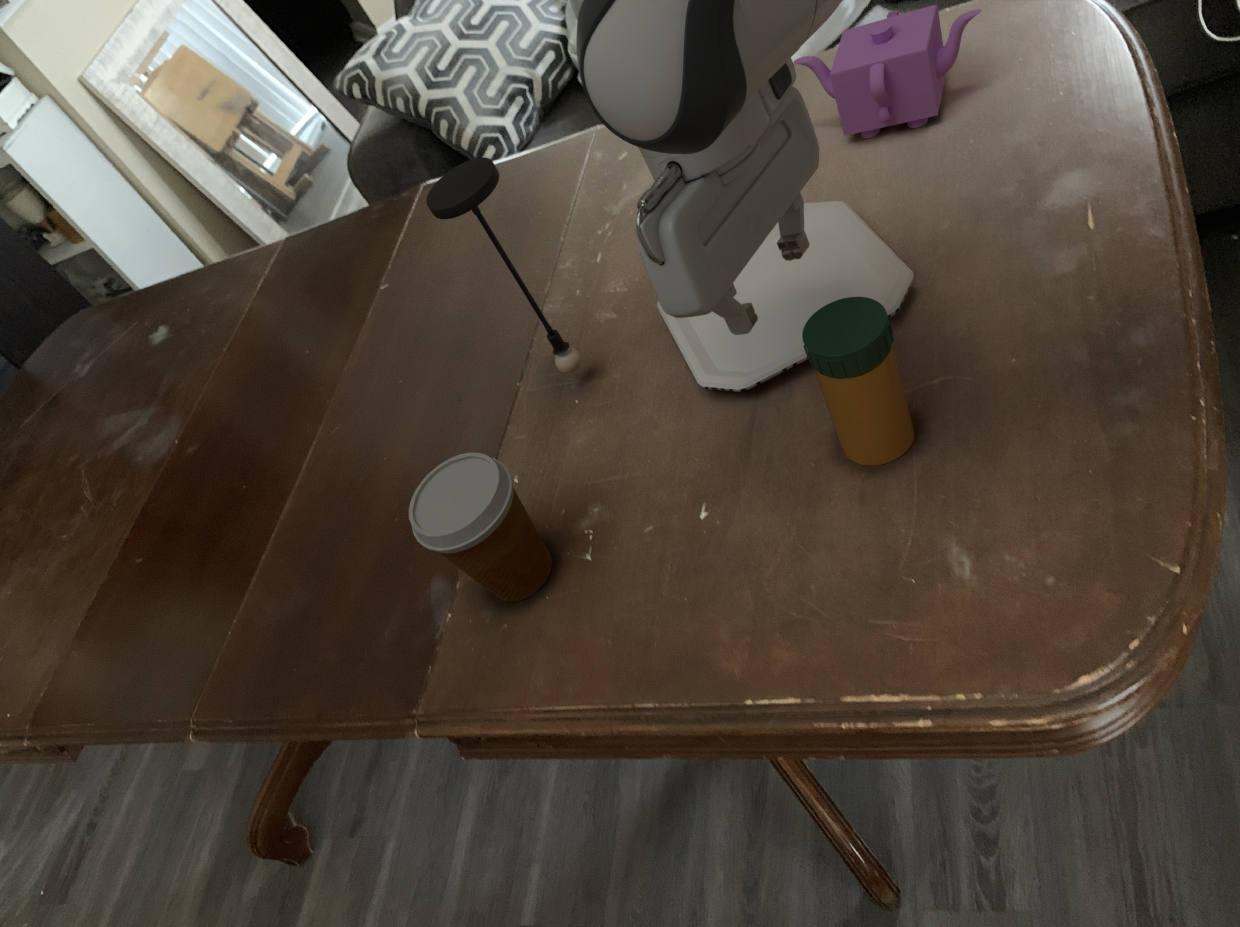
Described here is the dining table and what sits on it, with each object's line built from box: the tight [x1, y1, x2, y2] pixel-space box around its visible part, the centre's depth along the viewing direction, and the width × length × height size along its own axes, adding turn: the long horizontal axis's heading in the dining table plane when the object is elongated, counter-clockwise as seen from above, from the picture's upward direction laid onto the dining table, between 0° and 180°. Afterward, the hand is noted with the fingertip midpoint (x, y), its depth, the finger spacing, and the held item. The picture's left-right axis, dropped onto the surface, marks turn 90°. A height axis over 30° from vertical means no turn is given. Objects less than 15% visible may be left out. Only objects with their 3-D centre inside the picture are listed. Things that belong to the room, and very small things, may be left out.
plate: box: [656, 200, 915, 393], centre depth 86 cm, size 21×21×2 cm
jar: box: [814, 343, 915, 467], centre depth 68 cm, size 6×6×12 cm
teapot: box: [793, 4, 982, 139], centre depth 93 cm, size 18×13×10 cm
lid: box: [802, 297, 895, 378], centre depth 64 cm, size 6×6×2 cm
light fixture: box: [425, 157, 582, 375], centre depth 85 cm, size 7×7×25 cm
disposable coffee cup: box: [408, 452, 553, 603], centre depth 77 cm, size 10×10×12 cm
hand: (772, 290), depth 70 cm, fingers open, 8 cm apart
